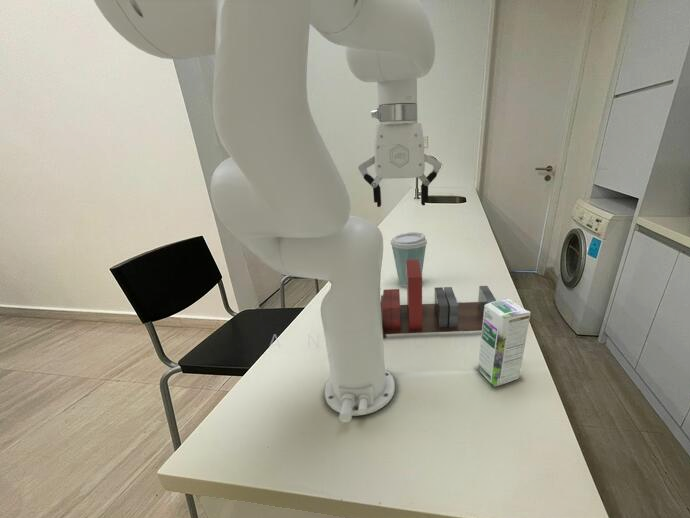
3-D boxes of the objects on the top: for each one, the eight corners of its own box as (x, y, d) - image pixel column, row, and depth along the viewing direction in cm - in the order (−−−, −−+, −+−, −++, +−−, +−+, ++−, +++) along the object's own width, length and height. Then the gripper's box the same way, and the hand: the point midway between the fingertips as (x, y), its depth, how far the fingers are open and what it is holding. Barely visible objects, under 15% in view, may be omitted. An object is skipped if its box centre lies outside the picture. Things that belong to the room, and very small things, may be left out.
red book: (422, 328, 76) (422, 277, 70) (409, 329, 76) (408, 277, 70) (418, 306, 86) (418, 259, 80) (407, 307, 86) (406, 259, 80)
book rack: (502, 333, 75) (505, 307, 72) (380, 338, 75) (378, 312, 72) (487, 304, 88) (489, 282, 85) (382, 308, 88) (380, 286, 85)
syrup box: (476, 369, 64) (482, 303, 58) (501, 361, 66) (510, 297, 60) (494, 388, 60) (503, 318, 53) (520, 379, 62) (532, 310, 55)
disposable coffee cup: (400, 293, 96) (399, 243, 89) (387, 280, 105) (384, 233, 98) (433, 286, 100) (433, 237, 93) (416, 274, 108) (416, 229, 102)
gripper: (351, 117, 61) (360, 210, 69) (444, 113, 61) (442, 207, 69) (356, 118, 68) (363, 203, 76) (440, 114, 68) (438, 200, 76)
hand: (401, 205), depth 73 cm, fingers open, 9 cm apart
